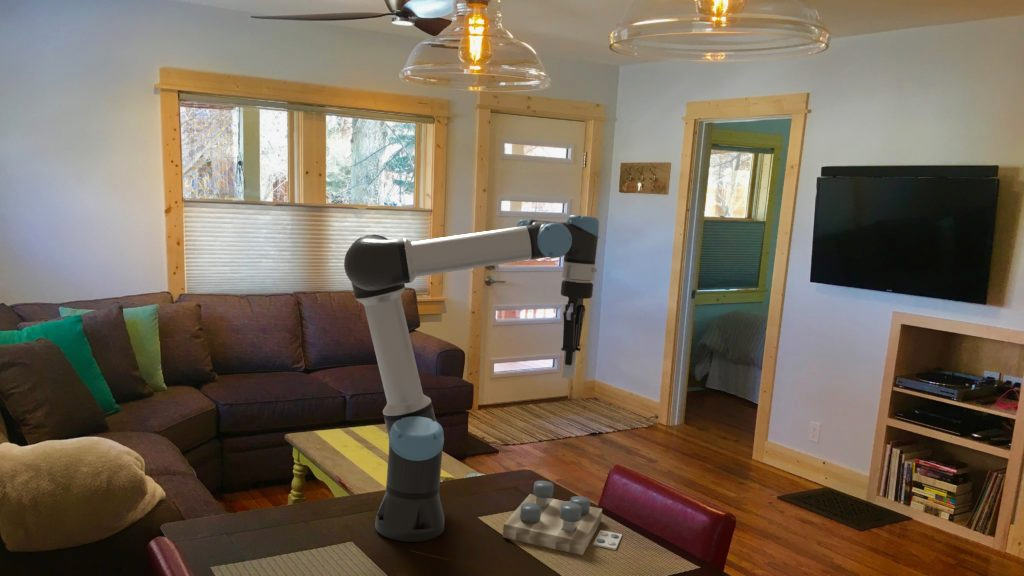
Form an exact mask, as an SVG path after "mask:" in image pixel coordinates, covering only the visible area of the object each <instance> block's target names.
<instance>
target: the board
mask: <svg viewBox="0 0 1024 576" xmlns="http://www.w3.org/2000/svg"><path fill="white" fill-rule="evenodd" d="M524 503H534V504H536V496H535V495H534V494H531V493H529V494H528V495H527V496H526V497H525V499H524V500H523V501H522V502H521V503H520V505H519V506H518V507H517V508H516V509H515V511H514V512H513V513H512V514H511V515H509V517H508V518H507V520H506V521H505V522H504V523H503V529H502V538H504V539H509V540H513V541H518V542H523V543H526V544H531V545H536V546H540V547H544V548H549V549H552V550H557V551H562V552H566V553H571V554H575V555H580V556H584V554H585V553H586V550H587V549H588V546H589V544H590V543H591V541H592V539H593V537H594V535H595V533H596V531H597V529H598V527H599V526H600V524H601V522H602V518H603V517H602V516H603V508H601V507H594V506H591V505H590V510H589V513H588V514H585V515H584V516H581V519H580V521H578V522H576V529H575V532H569V531H564V530H562V529H563V520H562V519H561V518H560V508H561V504H563V503H570V501H565V500H561V499H557V498H556V499H555V498H553V497H551V498H549V501H548V507H547V508H543V507H541V518H540V521H538V522H536V523H535V524H532V523H528V522H523V520H522V519H521V518H520V510H521V505H522V504H524Z"/></svg>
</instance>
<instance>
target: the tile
mask: <svg viewBox="0 0 1024 576" xmlns="http://www.w3.org/2000/svg"><path fill="white" fill-rule="evenodd" d="M622 537H623V534H621V533H618V532H612V531H608V530H603V529H600V530H599V532H598V534H597V535H596V538H595V539H594V541H593V544H592V546H595V547H600V548H604V549H608V550H613V551H616V550H617V549H618V546H619V544H620V542H621V540H622Z"/></svg>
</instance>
